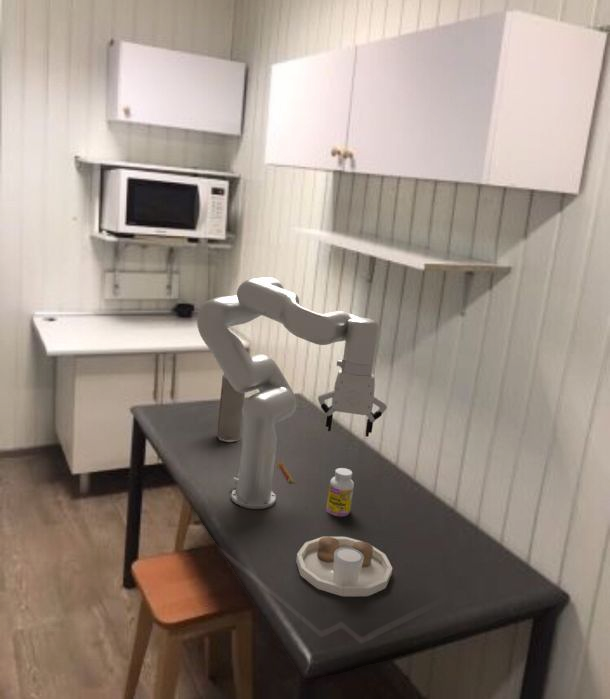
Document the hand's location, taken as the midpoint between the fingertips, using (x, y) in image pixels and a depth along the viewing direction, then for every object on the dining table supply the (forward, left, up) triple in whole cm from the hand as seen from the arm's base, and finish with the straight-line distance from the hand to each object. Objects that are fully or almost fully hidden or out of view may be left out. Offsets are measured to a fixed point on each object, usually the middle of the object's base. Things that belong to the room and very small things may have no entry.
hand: (348, 432), depth 175 cm
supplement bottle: (-7, +8, -28) cm, 30 cm away
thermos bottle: (-65, +11, -28) cm, 72 cm away
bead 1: (+9, -11, -27) cm, 31 cm away
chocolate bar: (-34, +11, -29) cm, 46 cm away
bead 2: (+15, -5, -27) cm, 32 cm away
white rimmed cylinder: (+19, -15, -28) cm, 37 cm away
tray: (+15, -11, -28) cm, 34 cm away
